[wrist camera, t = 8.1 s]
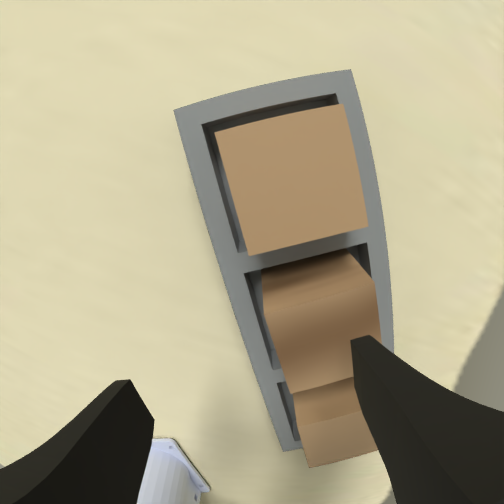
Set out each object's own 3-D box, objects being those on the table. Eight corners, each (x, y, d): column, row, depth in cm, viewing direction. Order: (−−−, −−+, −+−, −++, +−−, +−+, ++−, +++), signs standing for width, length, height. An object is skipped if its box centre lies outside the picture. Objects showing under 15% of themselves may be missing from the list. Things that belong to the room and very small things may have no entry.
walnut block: (355, 314, 18) (383, 366, 13) (282, 335, 18) (290, 393, 14) (342, 244, 17) (374, 282, 12) (260, 267, 17) (263, 314, 12)
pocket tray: (380, 396, 22) (405, 453, 16) (280, 422, 22) (285, 485, 17) (334, 81, 15) (374, 52, 9) (187, 116, 15) (153, 101, 10)
